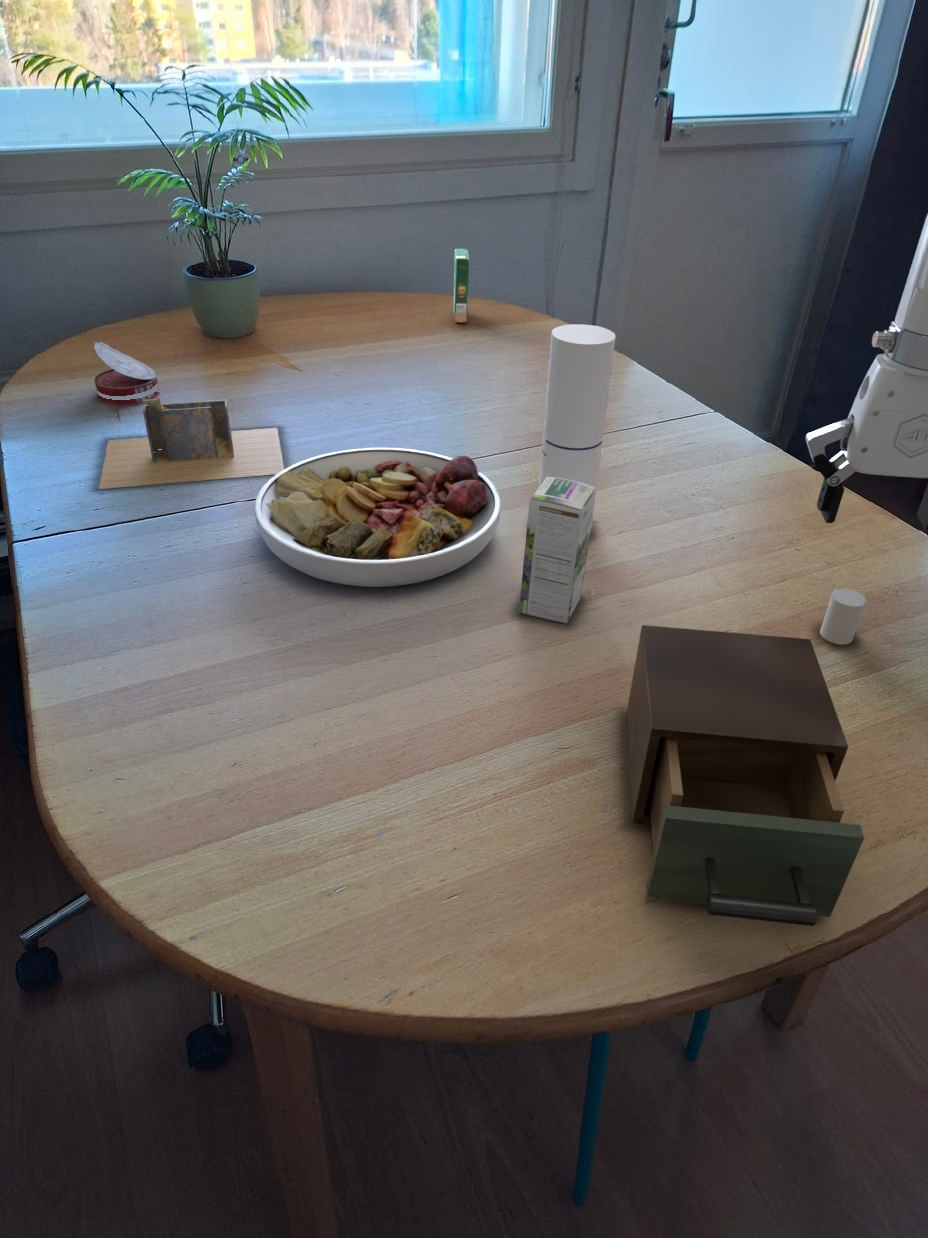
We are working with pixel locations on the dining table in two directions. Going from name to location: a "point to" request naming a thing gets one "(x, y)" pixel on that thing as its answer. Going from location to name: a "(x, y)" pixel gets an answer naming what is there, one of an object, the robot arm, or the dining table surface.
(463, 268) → the coffee box
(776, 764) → the drawer
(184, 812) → the dining table surface
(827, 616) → the white cylinder
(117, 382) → the canned food
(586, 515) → the syrup box
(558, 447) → the cylindrical container
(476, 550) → the bowl
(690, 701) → the cabinet
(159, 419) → the ruin model on sheet
